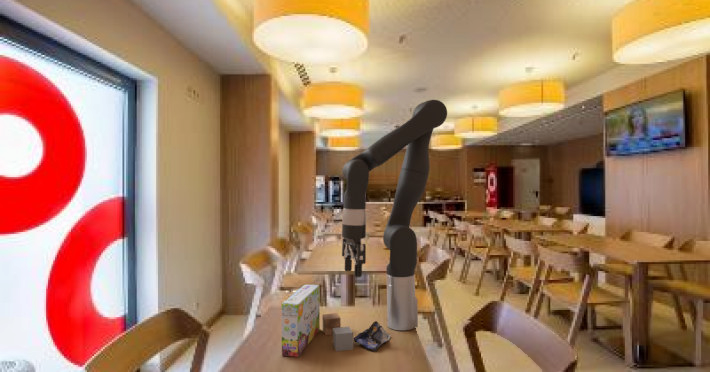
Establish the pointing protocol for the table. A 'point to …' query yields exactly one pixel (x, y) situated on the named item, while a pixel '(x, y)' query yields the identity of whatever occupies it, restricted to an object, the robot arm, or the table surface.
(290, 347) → the snack box
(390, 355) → the table surface
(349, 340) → the slate block
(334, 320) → the walnut block
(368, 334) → the snack package
